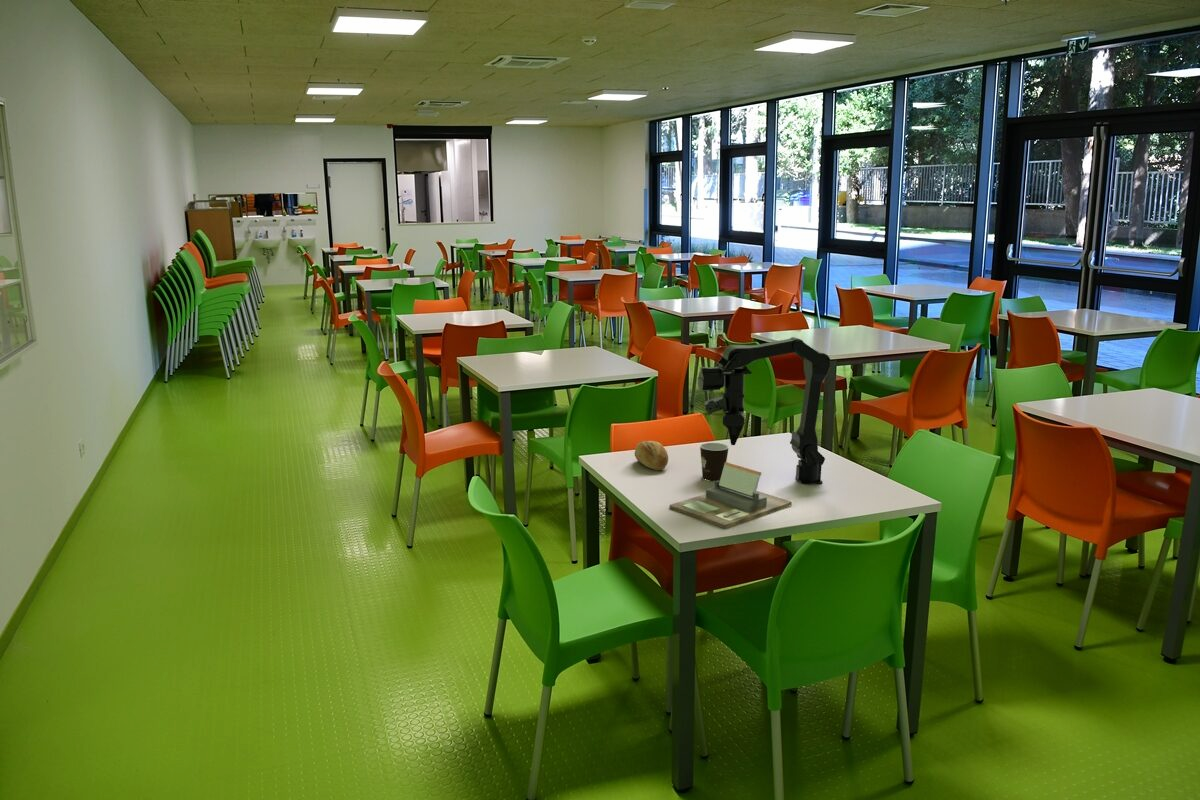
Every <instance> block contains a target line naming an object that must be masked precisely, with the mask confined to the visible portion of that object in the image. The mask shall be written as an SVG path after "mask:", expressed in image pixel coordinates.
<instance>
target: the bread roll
mask: <svg viewBox="0 0 1200 800" xmlns="http://www.w3.org/2000/svg"><path fill="white" fill-rule="evenodd" d="M634 457H635V459H636V460H637V461H638V462H639V463H640V464H642V465H643V466H645V467H647V468H649V469H651V470H655V471H662V470H664V469H665V468H666V467H667V465H668V462H669V454H668V451H667V450H666V448H665V447H664V446H663V444H661V443H660V442H658V441H655V440H643V441H639V443H638V444H637V445H636V447H635V449H634Z"/></svg>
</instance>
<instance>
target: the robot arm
mask: <svg viewBox="0 0 1200 800" xmlns="http://www.w3.org/2000/svg"><path fill="white" fill-rule="evenodd" d="M788 354H795V355H796V356H798V357H799V358H800V359H801V360H803V373H804V376H805V387H804V393H803V401H802V408H801V414H800V423H799V427H798V428H797V430H796V431H795V430H792V431H791V439H790V441H789V444H790V445H791V450H792V452H794V453H795V454H796V457H797V459H798V463H797V464H796V467H795V468H796V470H795V479H796V481H798V482H800V484H802V485H808V483H816V484H823V481H822V480H821V478H822V467H823V466H822V465H824V463H825V460H826V458H825V456H823V454H821V452H820V451H819V444H818V443H819V442H818V436H817V431H816V427H817V420H818V414H819V413H818V412H819V406H820V399H821V395H822V394H821V393H822V387H823V386H822V385H823V382H824V381H825V379H826V378H827V376H828V375H829V371H830V368H831V365H832V364H831V361H832V360H831V358H830V356H829V355H827V354H826V353H824V352H823V351H820V350H818V349H817V350H816V349H814V348H813V347H811V346H810V345H808V344H806V343H805V342H804V341H803V339H800V338H797V337H795V336H793V337H790V338H787V339H781V340H775V341H770V342H765V343H760V344H755V345H747V344H730V345H728V346H726V347H725V349H723V352H722V356H721V357H720V358H719V360H718V361H717V363H716V364H715V366H713V367H711V366H710V367H707V366H701V367H700V371H699V372H698V376H697V386H698V388H699V391H700V392H701V391H702V392H704V391H720V390H721V389H723V392H722V395H721V396H718V397H713V398H711V399H708V400H706V401H704V403H703V404H704V408H705V410H706V413H707V415H712V414H713V413H716V412H718V411H722V413H723V414H722V425H723V426H724V427H725V428H726V429H727V431H728V436H729V440H730V445H731V446H735V445H736V444H737V442H738V439H739V436H740V434H741V433H742V430H743V428H744V427H745V425H746V418H745V417H746V416H745V414H744V412H745V401H744V400H745V375H751V374H752V373H753V372H752V370H750V369H749V368H748V365H750V364H752V363H754V362H756V361H758V360H761V359H762V360H763V359H766V358H771V357H772V358H773V357H777V356H783V355H788Z"/></svg>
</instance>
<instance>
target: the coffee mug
mask: <svg viewBox="0 0 1200 800" xmlns="http://www.w3.org/2000/svg"><path fill="white" fill-rule="evenodd" d="M699 449H700V450H699V451H700V460H701V461H700V462H701V472H702V473H701V474H702V479H703V478H704V479H703V480H705V479H706V480H705V481H707V480H710V481H709V482H715V481H718V480H719V481H720V479H721V475H722V472H723V468H724V464H725V462H728V454H729V445H727V444H726V443H725V444H724V443H720V442H705V443H701V444H700V445H699Z"/></svg>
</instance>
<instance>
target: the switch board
mask: <svg viewBox="0 0 1200 800" xmlns="http://www.w3.org/2000/svg"><path fill="white" fill-rule="evenodd" d="M719 483H720V481H719V480H718V481H714V486H713V487H710V488H707V489H705V490H706V491H705V493H704V494H700V495H697V496H694V497H691V498H687V499H684V500H681V501H678V502H673V503H670V504H669V508H668V509H670V508H671V509H670V510H673V511H675V510H676V512H678V511H679V513H681V514H684V515H686V516H690V517H692V518H695V519H697V520H700V521H703V522H706V523H708V524H711V525H713V526H716V527H719V528H722V529H727V528H728V529H729V528H731V527H734V526H736V524H737V525H739V523H740V524H742V522H743V523H744V522H745V523H746V522H748V521H751V520H754V519H757V518H759V516H760V517H762V516H764V515H768V514H771V513H774V512H776V510H777V511H779V510H782V509H784V507H785V508H788V507H790V506H789V505H791V506H792V503H793V502H792V501H791V500H787V499H784V498H781V497H778V496H775V495H773V494H772V495H771V494H768V493H766V492H761V491H759V490H756V493H754V494H753V498H752V497H749V496H746V495H743V494H740V493H737V492H734V491H731V490H728V489H725V488H722V487H719V486H718V484H719ZM787 506H788V507H787ZM781 508H782V509H781ZM778 509H779V510H778ZM773 511H774V512H773ZM770 512H771V513H770ZM756 517H757V518H756ZM753 518H754V519H753Z"/></svg>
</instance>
